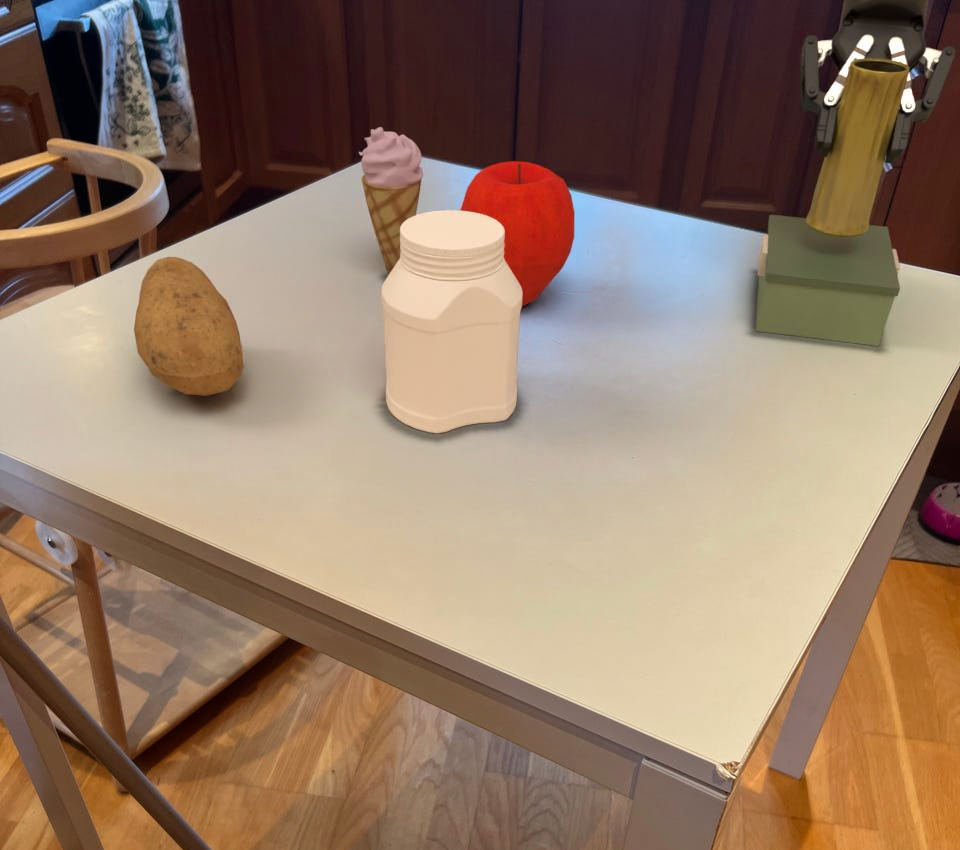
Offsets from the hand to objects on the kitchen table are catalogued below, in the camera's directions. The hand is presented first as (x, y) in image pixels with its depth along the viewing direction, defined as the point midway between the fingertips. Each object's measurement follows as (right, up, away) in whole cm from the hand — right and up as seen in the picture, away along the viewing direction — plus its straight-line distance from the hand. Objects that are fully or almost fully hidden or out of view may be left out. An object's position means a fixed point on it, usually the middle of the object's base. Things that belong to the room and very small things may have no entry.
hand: (858, 155), depth 91 cm
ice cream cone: (-45, -6, +15) cm, 48 cm away
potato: (-61, -22, -3) cm, 65 cm away
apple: (-32, -10, +11) cm, 35 cm away
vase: (0, -4, +6) cm, 8 cm away
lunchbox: (0, -10, +12) cm, 15 cm away
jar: (-38, -25, -5) cm, 45 cm away
